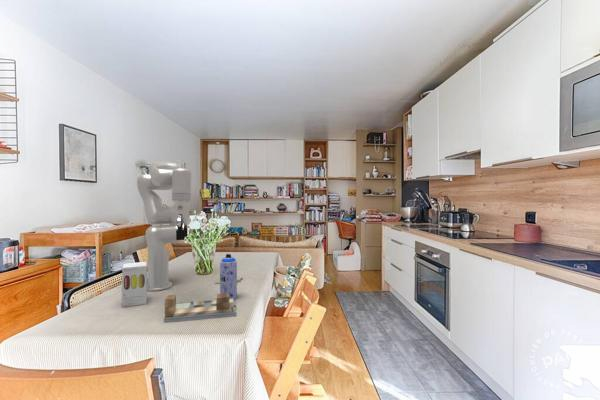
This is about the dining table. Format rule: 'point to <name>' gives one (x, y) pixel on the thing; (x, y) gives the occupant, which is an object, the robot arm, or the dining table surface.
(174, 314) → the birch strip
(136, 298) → the supplement box
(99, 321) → the dining table surface
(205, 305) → the slate board
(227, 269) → the aerosol can
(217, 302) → the walnut block
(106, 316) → the dining table surface
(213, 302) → the broken strip
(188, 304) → the felt coaster
